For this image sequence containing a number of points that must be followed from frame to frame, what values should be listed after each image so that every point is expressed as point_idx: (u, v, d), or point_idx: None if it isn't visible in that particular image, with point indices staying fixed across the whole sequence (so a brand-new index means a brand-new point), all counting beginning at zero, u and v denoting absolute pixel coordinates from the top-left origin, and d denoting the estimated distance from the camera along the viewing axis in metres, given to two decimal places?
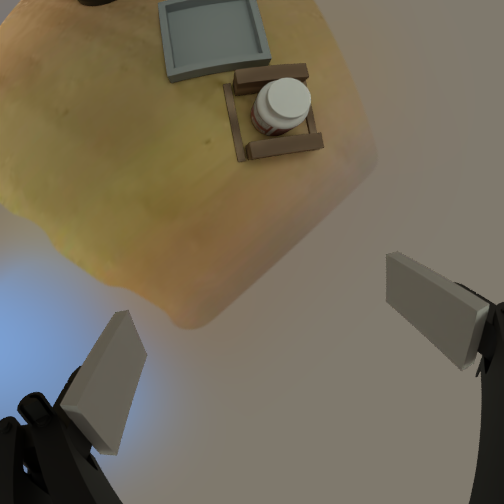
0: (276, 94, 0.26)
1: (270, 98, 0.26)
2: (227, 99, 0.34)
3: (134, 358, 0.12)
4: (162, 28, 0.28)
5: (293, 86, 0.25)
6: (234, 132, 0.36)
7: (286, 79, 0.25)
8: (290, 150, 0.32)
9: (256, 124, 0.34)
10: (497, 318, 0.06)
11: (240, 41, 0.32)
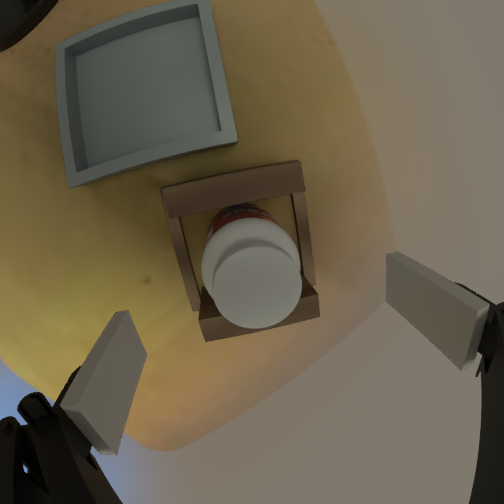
0: (230, 288, 0.14)
1: (217, 298, 0.14)
2: (167, 215, 0.23)
3: (134, 358, 0.12)
4: (58, 94, 0.16)
5: (266, 266, 0.14)
6: (183, 270, 0.24)
7: (251, 252, 0.14)
8: None
9: None
10: (497, 318, 0.06)
11: (188, 99, 0.20)
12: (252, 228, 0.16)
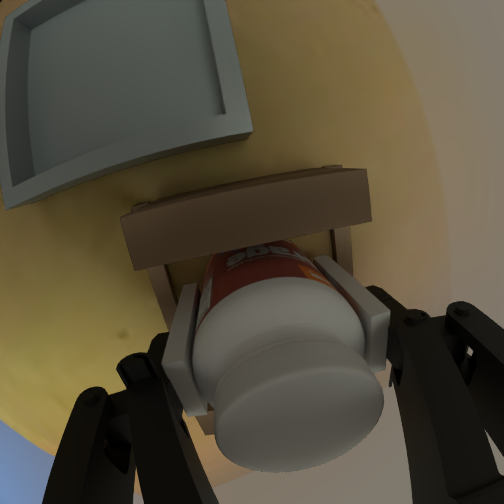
0: (250, 435, 0.06)
1: (227, 447, 0.06)
2: None
3: None
4: None
5: (327, 400, 0.06)
6: (170, 325, 0.16)
7: (300, 381, 0.06)
8: None
9: None
10: (400, 330, 0.08)
11: (174, 71, 0.12)
12: (291, 305, 0.08)
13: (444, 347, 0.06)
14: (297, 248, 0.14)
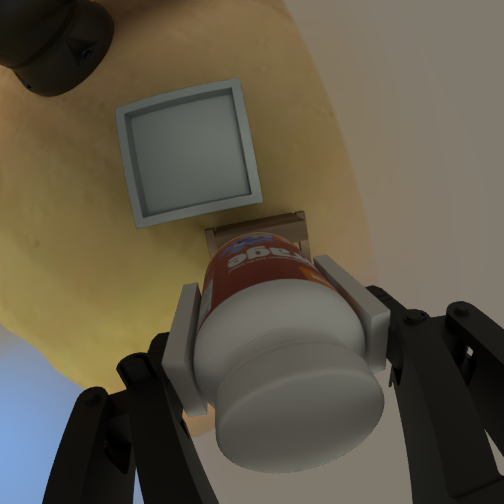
0: (252, 437, 0.06)
1: (228, 448, 0.06)
2: (210, 250, 0.33)
3: None
4: (123, 154, 0.27)
5: (328, 402, 0.06)
6: None
7: (302, 383, 0.06)
8: None
9: None
10: (400, 330, 0.08)
11: (225, 165, 0.31)
12: (292, 307, 0.08)
13: (444, 347, 0.06)
14: (298, 249, 0.14)
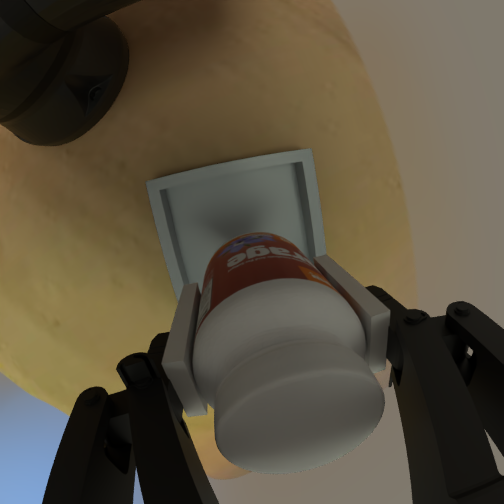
0: (251, 437, 0.06)
1: (227, 449, 0.06)
2: None
3: None
4: (163, 245, 0.23)
5: (328, 402, 0.06)
6: None
7: (301, 383, 0.05)
8: None
9: None
10: (400, 330, 0.08)
11: None
12: (292, 307, 0.08)
13: (444, 347, 0.06)
14: (297, 249, 0.14)
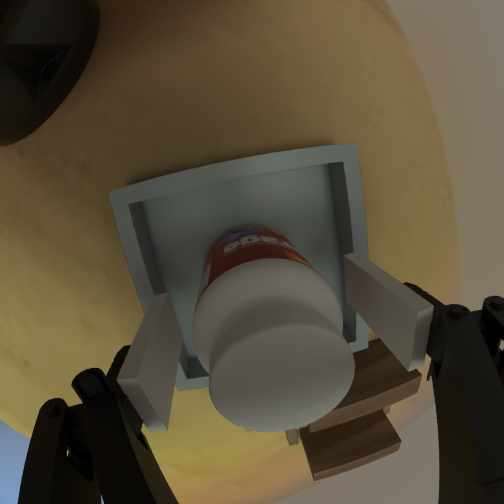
0: (239, 388, 0.08)
1: (219, 400, 0.08)
2: None
3: (174, 338, 0.13)
4: (138, 285, 0.15)
5: (302, 356, 0.08)
6: None
7: (278, 335, 0.07)
8: (359, 465, 0.20)
9: None
10: (443, 322, 0.07)
11: None
12: (274, 279, 0.09)
13: (482, 342, 0.06)
14: (287, 239, 0.16)
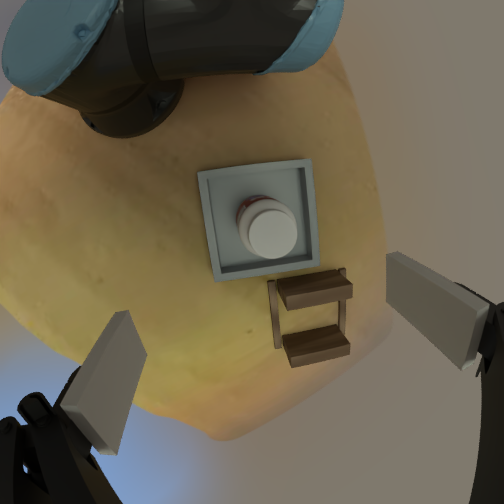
0: (258, 232, 0.26)
1: (251, 237, 0.26)
2: (270, 297, 0.40)
3: (134, 358, 0.12)
4: (205, 217, 0.34)
5: (279, 222, 0.26)
6: (274, 326, 0.42)
7: (271, 213, 0.26)
8: (322, 360, 0.38)
9: None
10: (497, 318, 0.06)
11: None
12: (271, 204, 0.28)
13: None
14: None
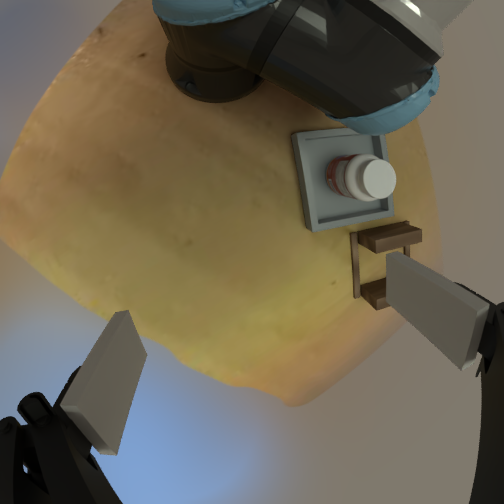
0: (370, 176, 0.29)
1: (365, 180, 0.29)
2: (353, 248, 0.43)
3: (134, 358, 0.12)
4: (305, 172, 0.37)
5: (383, 168, 0.29)
6: (355, 276, 0.45)
7: (378, 161, 0.29)
8: None
9: (334, 187, 0.38)
10: (497, 318, 0.06)
11: None
12: (371, 156, 0.31)
13: None
14: None
